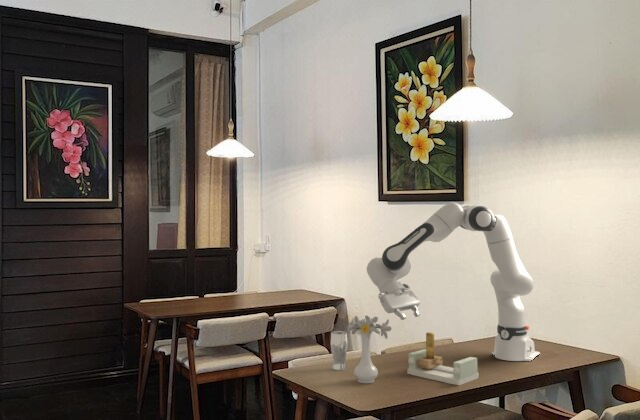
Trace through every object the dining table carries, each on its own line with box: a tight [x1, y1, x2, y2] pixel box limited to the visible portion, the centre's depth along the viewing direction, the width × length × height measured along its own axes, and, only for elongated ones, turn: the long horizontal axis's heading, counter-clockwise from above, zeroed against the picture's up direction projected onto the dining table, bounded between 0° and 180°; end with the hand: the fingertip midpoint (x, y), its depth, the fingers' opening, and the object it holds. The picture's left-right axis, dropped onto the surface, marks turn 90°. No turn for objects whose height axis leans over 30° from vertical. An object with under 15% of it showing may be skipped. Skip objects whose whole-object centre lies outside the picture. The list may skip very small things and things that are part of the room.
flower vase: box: [345, 315, 392, 384], centre depth 249 cm, size 13×18×25 cm
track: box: [406, 348, 480, 386], centre depth 256 cm, size 14×24×8 cm, turn 45°
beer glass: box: [330, 330, 348, 372], centre depth 267 cm, size 7×7×15 cm
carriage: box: [418, 332, 444, 369], centre depth 260 cm, size 10×5×13 cm, turn 135°
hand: (411, 317), depth 266 cm, fingers open, 8 cm apart
